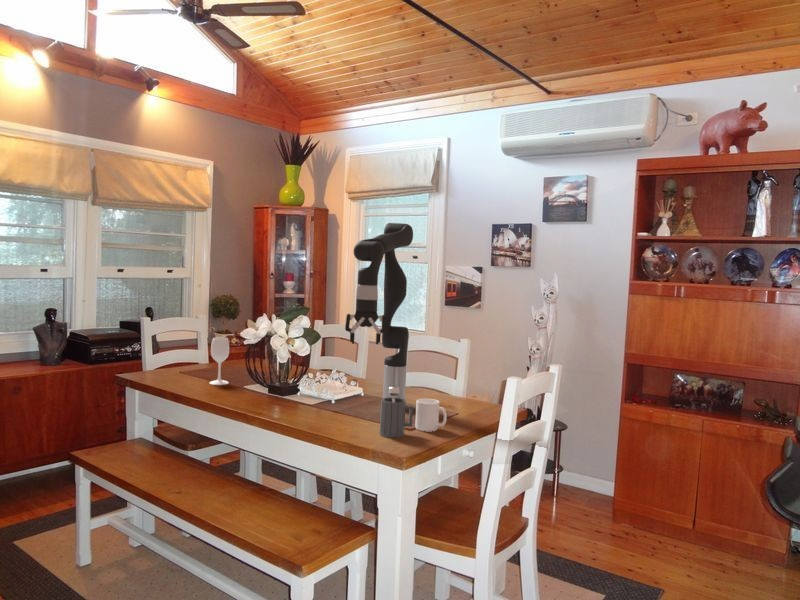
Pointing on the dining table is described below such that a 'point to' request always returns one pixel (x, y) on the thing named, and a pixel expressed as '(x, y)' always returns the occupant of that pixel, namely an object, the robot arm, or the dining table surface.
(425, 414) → the cup
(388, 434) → the gray tankard
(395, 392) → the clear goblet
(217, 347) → the wineglass
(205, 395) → the dining table surface
